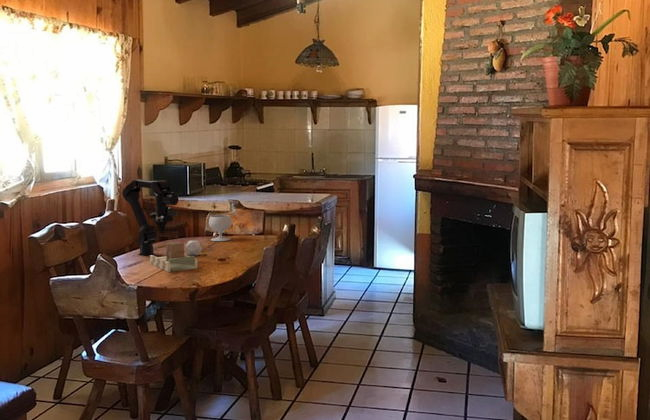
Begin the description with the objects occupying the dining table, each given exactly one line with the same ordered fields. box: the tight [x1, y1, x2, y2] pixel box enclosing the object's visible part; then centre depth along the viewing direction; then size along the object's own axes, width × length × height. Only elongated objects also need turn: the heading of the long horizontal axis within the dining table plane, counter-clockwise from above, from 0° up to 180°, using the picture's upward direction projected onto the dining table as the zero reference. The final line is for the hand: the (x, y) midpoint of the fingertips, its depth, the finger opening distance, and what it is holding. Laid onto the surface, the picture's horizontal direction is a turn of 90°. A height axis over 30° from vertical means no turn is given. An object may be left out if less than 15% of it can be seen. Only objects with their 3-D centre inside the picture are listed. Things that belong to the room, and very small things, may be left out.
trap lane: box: [149, 253, 198, 273], centre depth 335 cm, size 24×15×6 cm, turn 35°
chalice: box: [208, 214, 233, 242], centre depth 411 cm, size 14×14×15 cm
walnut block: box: [165, 241, 185, 262], centre depth 332 cm, size 6×7×9 cm
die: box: [184, 240, 203, 257], centre depth 364 cm, size 8×9×10 cm
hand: (162, 233), depth 357 cm, fingers closed
